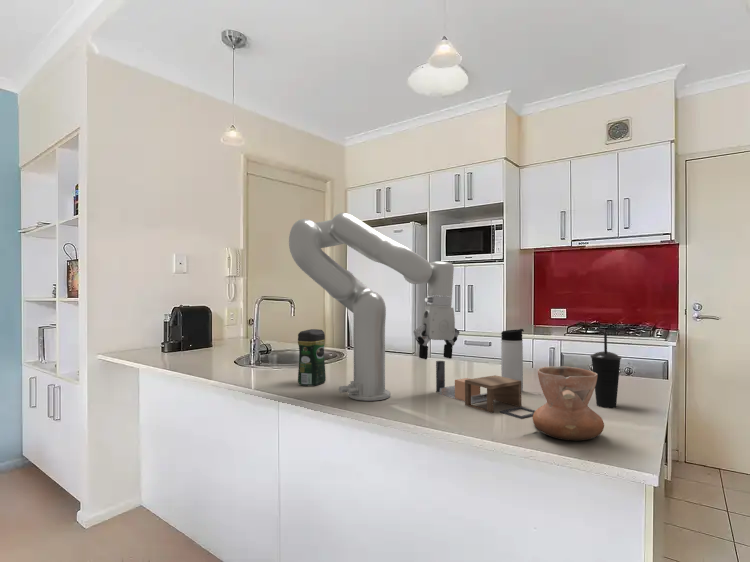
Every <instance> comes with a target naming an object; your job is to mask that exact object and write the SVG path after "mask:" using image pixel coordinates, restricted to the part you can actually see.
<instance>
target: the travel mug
mask: <svg viewBox="0 0 750 562" xmlns="http://www.w3.org/2000/svg"><path fill="white" fill-rule="evenodd" d="M523 332H524V329H523V328H520V329H508V330H503V331H501V340H500V341H501V342H500V344H501V347H500V349H501V351H500V352H501V364H500V365H501V377H506V378H510V379H515V380H520V381H521V393H522V392H524V370H523V369H524V361H523V359H524V355H523V354H524V351H523V347H524V346H523Z"/></svg>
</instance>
